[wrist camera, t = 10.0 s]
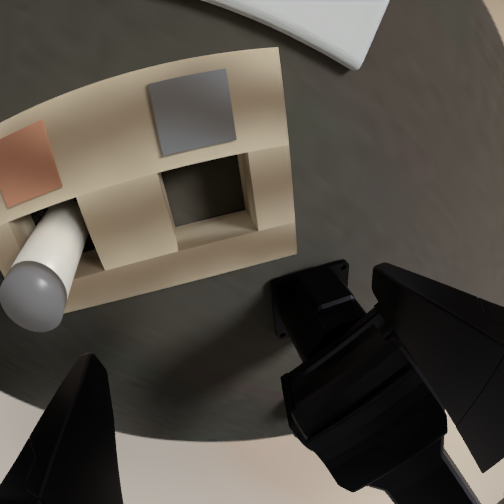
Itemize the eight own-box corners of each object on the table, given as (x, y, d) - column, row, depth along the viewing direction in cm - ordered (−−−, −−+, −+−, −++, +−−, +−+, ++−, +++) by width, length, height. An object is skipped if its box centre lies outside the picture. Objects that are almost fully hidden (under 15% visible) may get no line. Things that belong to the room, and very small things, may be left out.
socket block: (280, 231, 22) (298, 255, 19) (41, 293, 19) (30, 323, 17) (260, 51, 15) (279, 46, 13) (-24, 138, 13) (-51, 152, 10)
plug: (97, 237, 19) (75, 325, 12) (56, 250, 18) (22, 336, 12) (81, 192, 17) (41, 266, 10) (38, 207, 16) (-13, 283, 10)
